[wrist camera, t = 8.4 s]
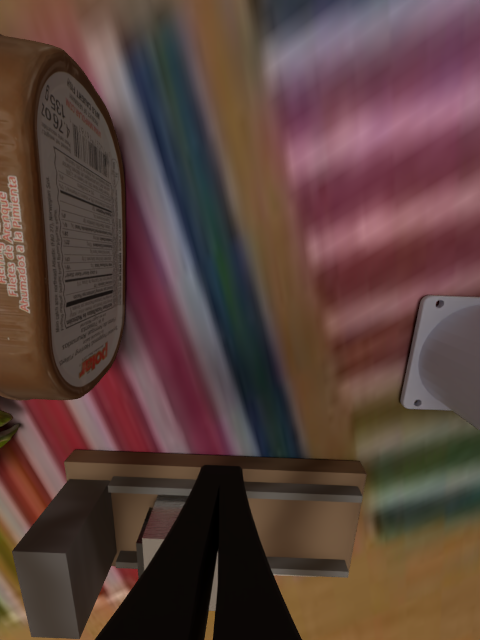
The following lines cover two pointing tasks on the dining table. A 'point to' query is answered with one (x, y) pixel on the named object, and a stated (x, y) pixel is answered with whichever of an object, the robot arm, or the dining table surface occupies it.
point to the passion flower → (5, 436)
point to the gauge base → (141, 493)
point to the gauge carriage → (163, 534)
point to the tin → (57, 227)
